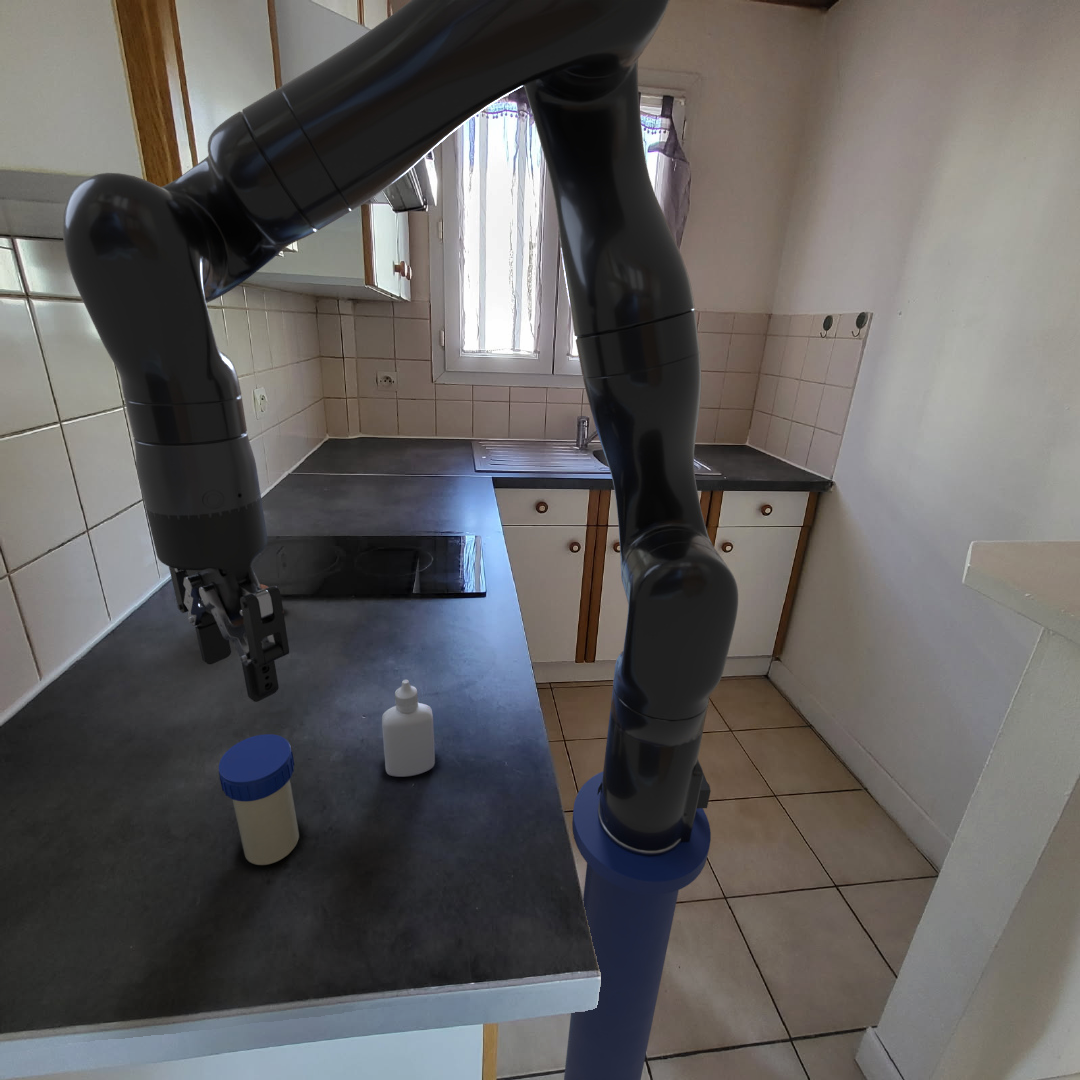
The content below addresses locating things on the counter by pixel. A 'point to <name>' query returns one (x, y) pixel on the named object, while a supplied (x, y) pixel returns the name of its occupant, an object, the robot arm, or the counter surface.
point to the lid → (256, 767)
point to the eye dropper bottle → (408, 734)
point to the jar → (268, 826)
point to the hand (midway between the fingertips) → (239, 676)
